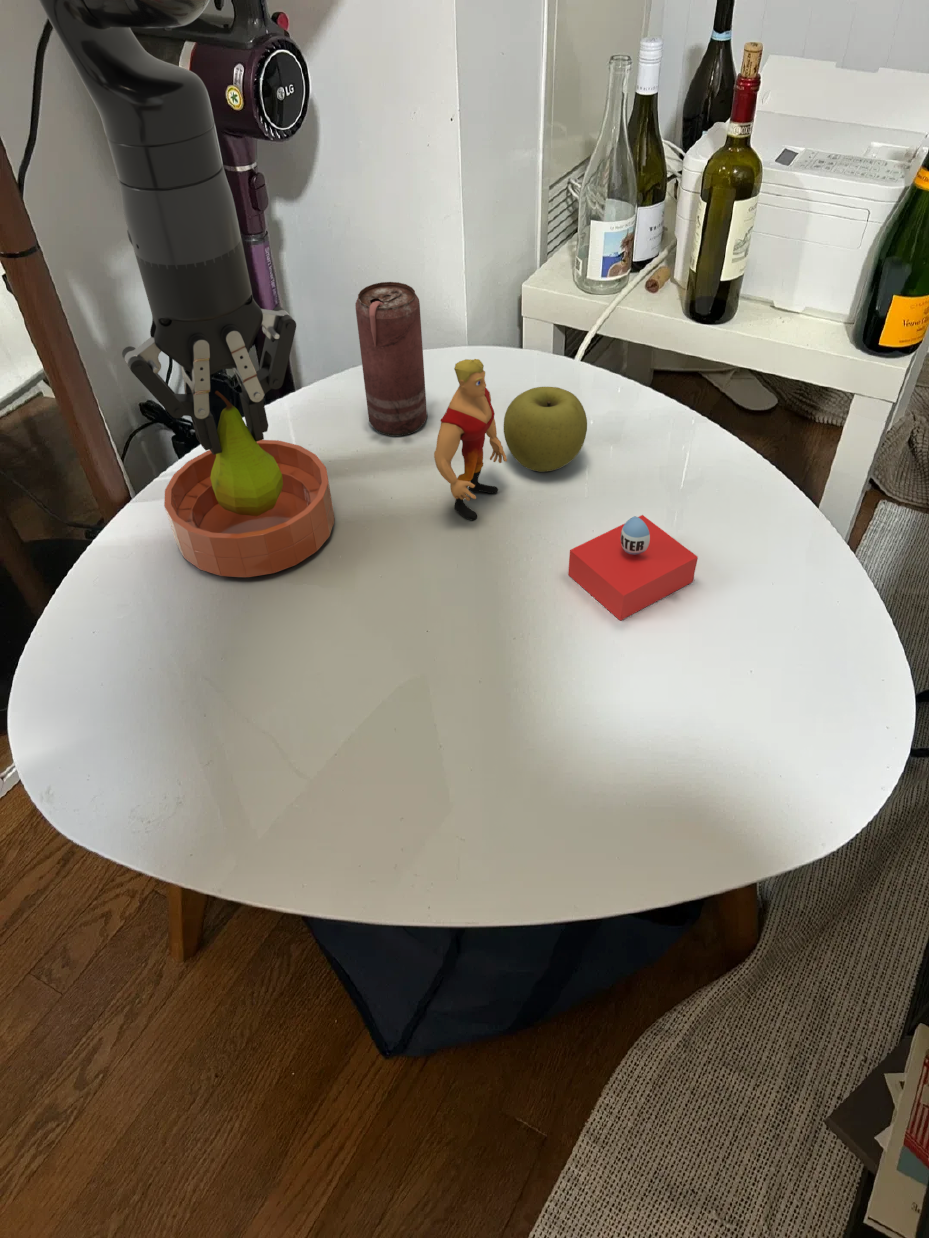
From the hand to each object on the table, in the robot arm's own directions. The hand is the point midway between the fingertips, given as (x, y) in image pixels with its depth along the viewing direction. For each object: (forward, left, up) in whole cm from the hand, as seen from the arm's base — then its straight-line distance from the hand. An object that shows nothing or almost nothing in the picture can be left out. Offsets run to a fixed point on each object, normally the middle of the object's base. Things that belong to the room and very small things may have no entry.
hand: (235, 441), depth 78 cm
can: (+19, +9, -10) cm, 23 cm away
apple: (+28, -5, -10) cm, 30 cm away
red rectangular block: (+25, -23, -10) cm, 35 cm away
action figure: (+19, -7, -10) cm, 23 cm away
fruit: (0, 0, -7) cm, 7 cm away
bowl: (0, 0, -10) cm, 10 cm away
